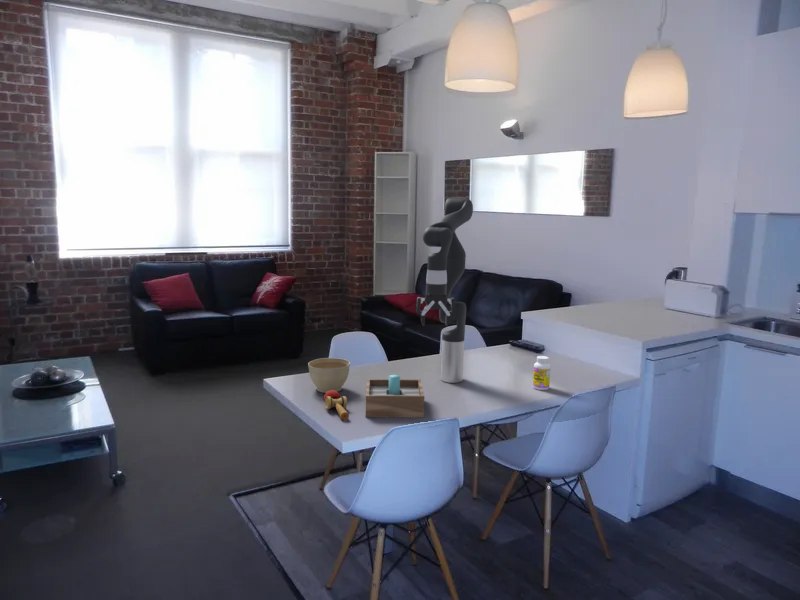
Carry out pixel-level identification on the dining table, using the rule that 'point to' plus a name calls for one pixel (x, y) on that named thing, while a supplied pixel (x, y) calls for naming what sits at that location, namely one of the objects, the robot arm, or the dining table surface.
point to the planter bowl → (329, 373)
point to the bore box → (394, 399)
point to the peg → (394, 385)
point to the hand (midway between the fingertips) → (435, 325)
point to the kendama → (336, 403)
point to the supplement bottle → (541, 373)
